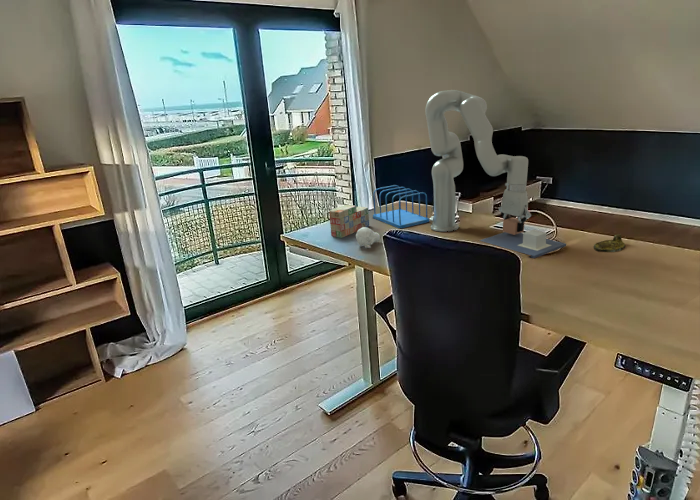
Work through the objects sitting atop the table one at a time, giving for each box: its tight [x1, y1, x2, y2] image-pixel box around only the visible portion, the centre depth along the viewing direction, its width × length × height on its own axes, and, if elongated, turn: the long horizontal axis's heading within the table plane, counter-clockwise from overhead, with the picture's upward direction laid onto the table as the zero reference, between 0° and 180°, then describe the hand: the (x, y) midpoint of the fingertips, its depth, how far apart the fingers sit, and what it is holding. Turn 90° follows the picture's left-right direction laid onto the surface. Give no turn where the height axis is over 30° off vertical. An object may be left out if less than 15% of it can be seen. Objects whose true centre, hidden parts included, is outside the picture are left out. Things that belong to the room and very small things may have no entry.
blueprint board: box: [478, 232, 567, 259], centre depth 189 cm, size 26×20×1 cm
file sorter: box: [372, 184, 431, 229], centre depth 232 cm, size 25×17×15 cm
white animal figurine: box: [355, 227, 381, 249], centre depth 200 cm, size 6×8×12 cm
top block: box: [502, 216, 525, 235], centre depth 198 cm, size 6×6×5 cm
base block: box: [522, 229, 548, 249], centre depth 183 cm, size 6×6×5 cm
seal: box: [593, 233, 626, 253], centre depth 179 cm, size 9×5×15 cm
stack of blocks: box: [328, 204, 370, 239], centre depth 221 cm, size 21×6×12 cm, turn 141°
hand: (513, 229), depth 198 cm, fingers closed on top block, 6 cm apart
